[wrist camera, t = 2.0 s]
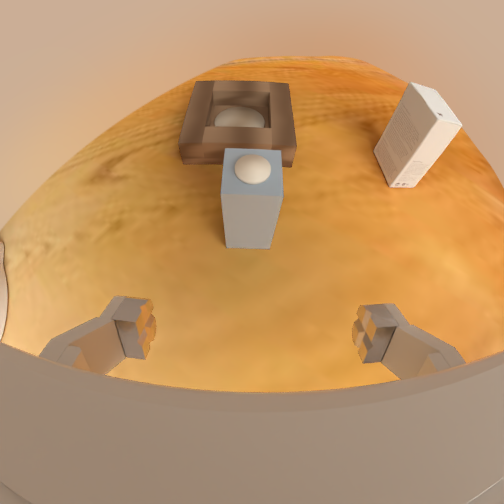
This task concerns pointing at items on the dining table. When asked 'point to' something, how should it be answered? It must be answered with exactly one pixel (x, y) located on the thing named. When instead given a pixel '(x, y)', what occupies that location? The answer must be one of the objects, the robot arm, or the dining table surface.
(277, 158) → the post
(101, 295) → the dining table surface
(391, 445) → the robot arm
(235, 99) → the socket block
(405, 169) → the skincare box
